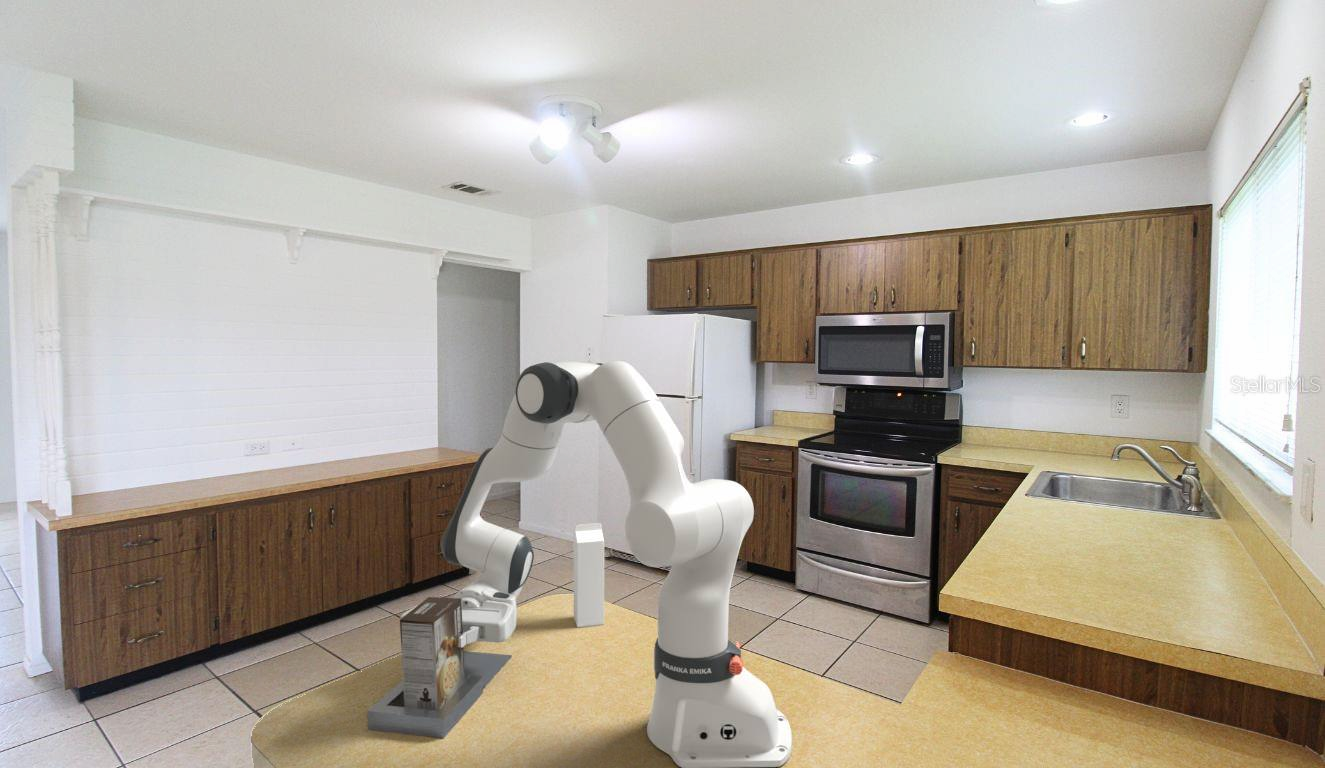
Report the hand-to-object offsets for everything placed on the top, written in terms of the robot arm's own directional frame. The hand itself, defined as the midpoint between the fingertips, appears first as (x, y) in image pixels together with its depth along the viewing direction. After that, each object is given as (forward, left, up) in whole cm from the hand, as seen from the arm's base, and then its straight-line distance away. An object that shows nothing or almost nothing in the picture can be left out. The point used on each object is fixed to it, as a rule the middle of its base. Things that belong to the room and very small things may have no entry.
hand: (435, 641), depth 106 cm
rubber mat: (0, -12, -11) cm, 16 cm away
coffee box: (0, 0, -10) cm, 10 cm away
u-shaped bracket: (0, +2, -11) cm, 11 cm away
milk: (-16, -37, -11) cm, 42 cm away
